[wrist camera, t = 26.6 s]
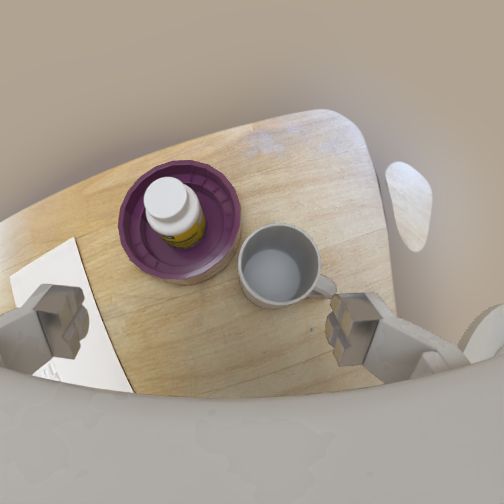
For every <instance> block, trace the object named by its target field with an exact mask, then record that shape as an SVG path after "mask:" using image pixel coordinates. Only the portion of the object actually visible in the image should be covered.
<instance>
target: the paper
mask: <svg viewBox="0 0 504 504" xmlns="http://www.w3.org/2000/svg"><path fill="white" fill-rule="evenodd" d="M10 282H11V286H12V291H13V295H14V299H15V303H16V307H18V308H21V306H22V305H23V304H24V303H25V302H26V301H27V299H28V298H29V297H30V296H31V295H32V294H33V293H34V291H35V290H36V289H37V288H38V287H39V286H40V285H41V284H54V285H65V286H75V287H80V288H81V289H82V290H83V294H84V298H85V299H84V301H83V303H82V305H83V306H84V307H85V308H86V309H87V310H88V315H89V329H88V333H87V335H86V337H85V338H84V339H82V340H81V341H80V345H81V347H80V349H79V351H78V353H77V355H76V357H75V360H73V359H66V358H58V357H53V358H52V359H51V360H50V361H48V362H47V363H46V364H45V365H43V366H42V367H41V368H40V369H38V370H37V371H36V372H35V373H34V374H32V375H33V376H37V377H42V378H46V379H50V380H55V381H60V382H65V383H70V384H76V385H81V386H87V387H93V388H100V389H107V390H114V391H122V392H130V393H134V392H133V390H132V388H131V386H130V384H129V382H128V380H127V378H126V376H125V374H124V371H123V369H122V367H121V365H120V363H119V360H118V358H117V356H116V354H115V351H114V349H113V346H112V344H111V342H110V339H109V337H108V334H107V332H106V329H105V327H104V324H103V322H102V319H101V317H100V314H99V311H98V309H97V306H96V303H95V301H94V298H93V295H92V292H91V289H90V286H89V283H88V280H87V277H86V274H85V271H84V268H83V265H82V262H81V258H80V255H79V252H78V249H77V246H76V242H75V239H74V237H73V238H71V239H69V240H68V241H66V242H64V243H62V244H61V245H59V246H57V247H56V248H54V249H52V250H51V251H49V252H47V253H46V254H44V255H42V256H41V257H39V258H38V259H36V260H34V261H33V262H31V263H30V264H28V265H27V266H25V267H24V268H22V269H20V270H19V271H17V272H16V273H14V274H13V275H11V276H10Z"/></svg>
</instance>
